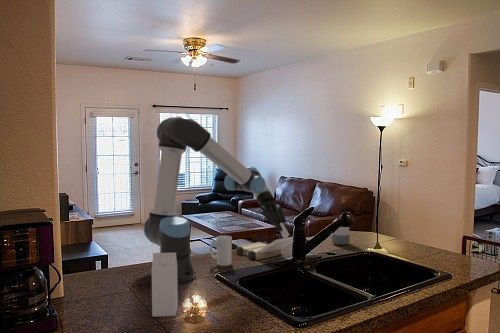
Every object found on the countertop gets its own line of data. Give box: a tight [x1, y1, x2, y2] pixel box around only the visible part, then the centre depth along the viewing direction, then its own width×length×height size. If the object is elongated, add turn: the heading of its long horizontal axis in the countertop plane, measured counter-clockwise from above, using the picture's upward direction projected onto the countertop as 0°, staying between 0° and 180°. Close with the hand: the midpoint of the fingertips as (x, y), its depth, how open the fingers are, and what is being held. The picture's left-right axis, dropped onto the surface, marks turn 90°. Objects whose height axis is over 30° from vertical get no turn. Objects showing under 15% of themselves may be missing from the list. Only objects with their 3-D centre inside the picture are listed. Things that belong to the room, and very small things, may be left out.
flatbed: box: [235, 241, 282, 261], centre depth 198 cm, size 16×17×4 cm
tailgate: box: [258, 236, 294, 253], centre depth 186 cm, size 1×14×14 cm
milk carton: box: [151, 252, 179, 318], centre depth 129 cm, size 7×7×19 cm
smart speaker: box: [331, 218, 351, 246], centre depth 216 cm, size 10×9×14 cm
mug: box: [209, 235, 233, 267], centre depth 180 cm, size 10×7×12 cm, turn 112°
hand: (286, 236), depth 181 cm, fingers closed
